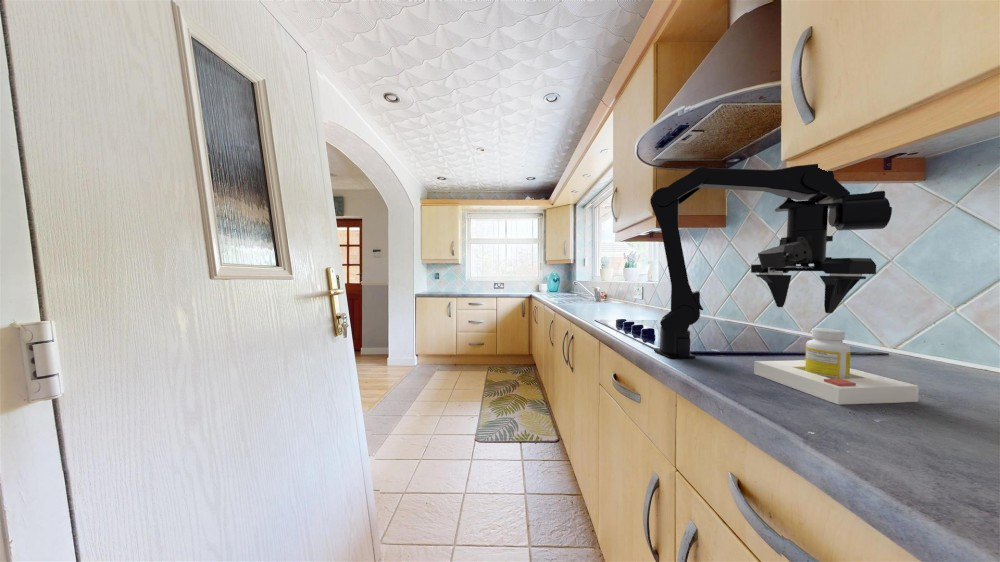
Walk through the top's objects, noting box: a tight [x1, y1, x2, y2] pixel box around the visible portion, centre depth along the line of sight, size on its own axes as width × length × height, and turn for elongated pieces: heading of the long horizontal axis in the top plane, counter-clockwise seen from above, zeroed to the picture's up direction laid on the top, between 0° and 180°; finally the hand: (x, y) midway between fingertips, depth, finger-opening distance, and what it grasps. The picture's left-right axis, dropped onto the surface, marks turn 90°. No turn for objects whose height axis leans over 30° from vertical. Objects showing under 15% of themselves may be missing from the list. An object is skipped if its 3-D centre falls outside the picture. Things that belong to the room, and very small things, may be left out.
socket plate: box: [753, 359, 920, 406], centre depth 55 cm, size 14×14×3 cm
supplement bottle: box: [805, 327, 851, 379], centre depth 55 cm, size 5×5×10 cm
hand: (802, 309), depth 63 cm, fingers open, 9 cm apart
